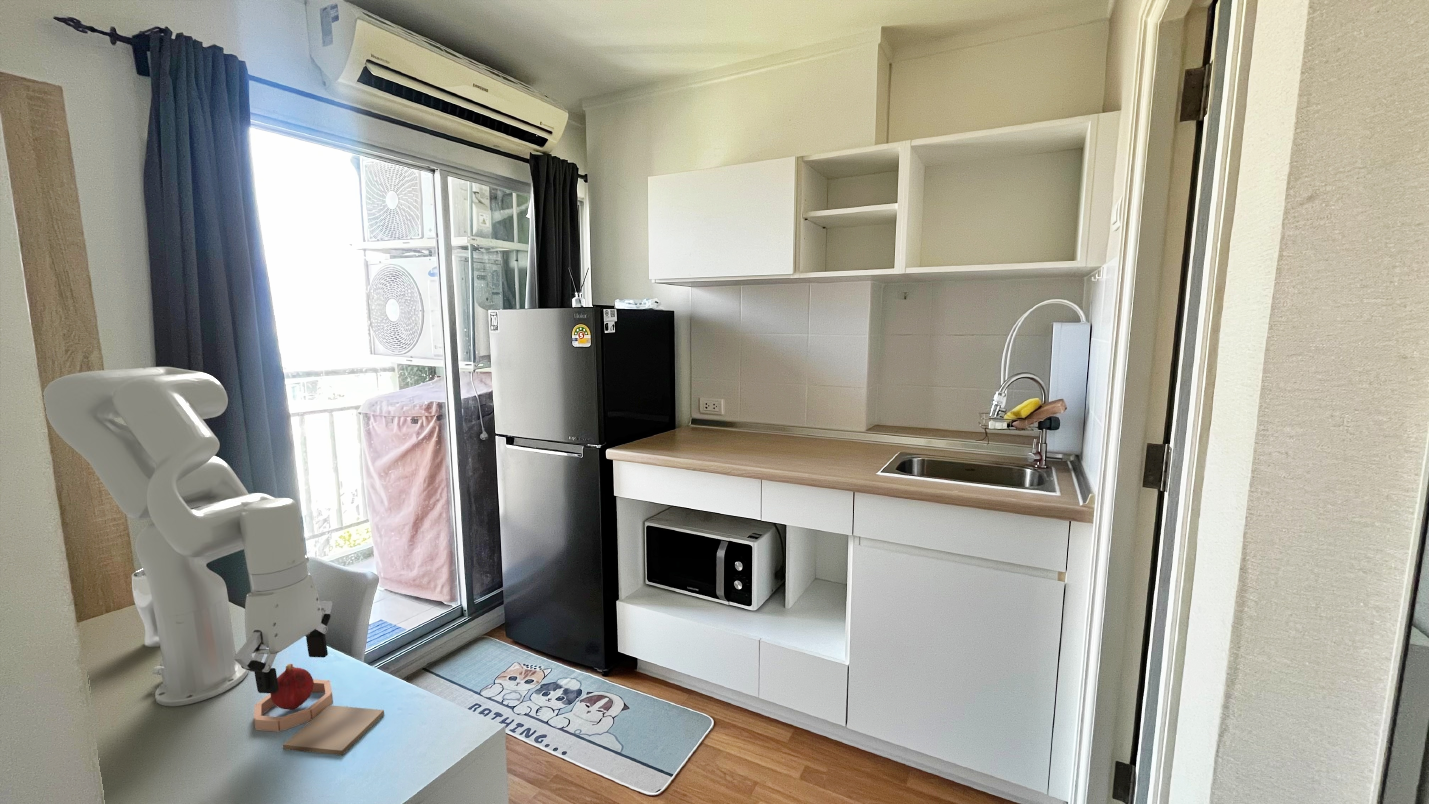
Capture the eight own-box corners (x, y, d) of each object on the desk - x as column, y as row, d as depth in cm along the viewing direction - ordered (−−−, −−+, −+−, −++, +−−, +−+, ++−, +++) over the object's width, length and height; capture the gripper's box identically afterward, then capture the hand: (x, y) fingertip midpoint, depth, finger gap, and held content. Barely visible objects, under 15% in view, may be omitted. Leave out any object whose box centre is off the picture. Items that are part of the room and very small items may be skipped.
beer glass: (183, 626, 122) (173, 560, 120) (192, 636, 118) (181, 568, 116) (138, 641, 117) (126, 572, 115) (145, 652, 113) (134, 581, 111)
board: (282, 749, 87) (282, 744, 87) (329, 709, 96) (329, 705, 96) (342, 755, 86) (341, 750, 85) (384, 714, 94) (383, 709, 94)
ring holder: (238, 727, 92) (237, 717, 91) (293, 686, 102) (292, 677, 101) (296, 733, 90) (295, 723, 90) (346, 691, 100) (345, 681, 100)
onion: (323, 703, 97) (318, 659, 96) (286, 724, 92) (280, 679, 91) (302, 694, 100) (297, 651, 99) (265, 714, 95) (259, 670, 93)
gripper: (303, 554, 101) (317, 643, 104) (205, 600, 84) (224, 707, 87) (341, 554, 100) (354, 645, 103) (250, 601, 83) (268, 709, 86)
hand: (294, 673), depth 95 cm, fingers open, 9 cm apart
